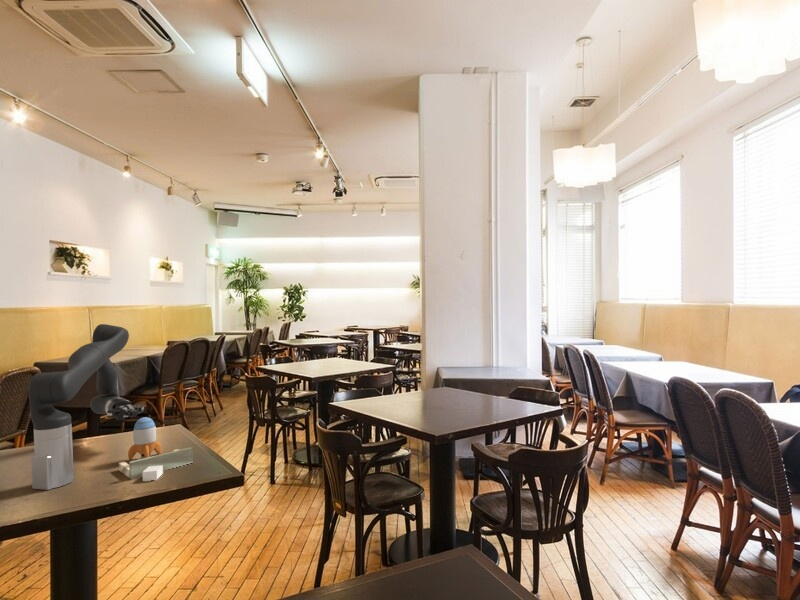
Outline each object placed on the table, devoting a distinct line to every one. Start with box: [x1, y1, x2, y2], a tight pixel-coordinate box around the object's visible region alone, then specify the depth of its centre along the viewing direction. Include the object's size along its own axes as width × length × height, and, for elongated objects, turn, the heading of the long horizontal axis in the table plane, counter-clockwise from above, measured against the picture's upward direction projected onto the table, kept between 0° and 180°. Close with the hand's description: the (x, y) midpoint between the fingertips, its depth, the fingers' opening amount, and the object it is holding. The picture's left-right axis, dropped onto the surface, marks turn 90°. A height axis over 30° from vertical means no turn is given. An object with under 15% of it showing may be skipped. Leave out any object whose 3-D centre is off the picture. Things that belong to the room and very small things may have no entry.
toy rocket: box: [127, 416, 162, 461], centre depth 165 cm, size 10×11×15 cm
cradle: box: [118, 446, 194, 480], centre depth 156 cm, size 13×18×5 cm
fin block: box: [142, 465, 164, 482], centre depth 146 cm, size 5×4×3 cm
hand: (133, 414), depth 173 cm, fingers closed
